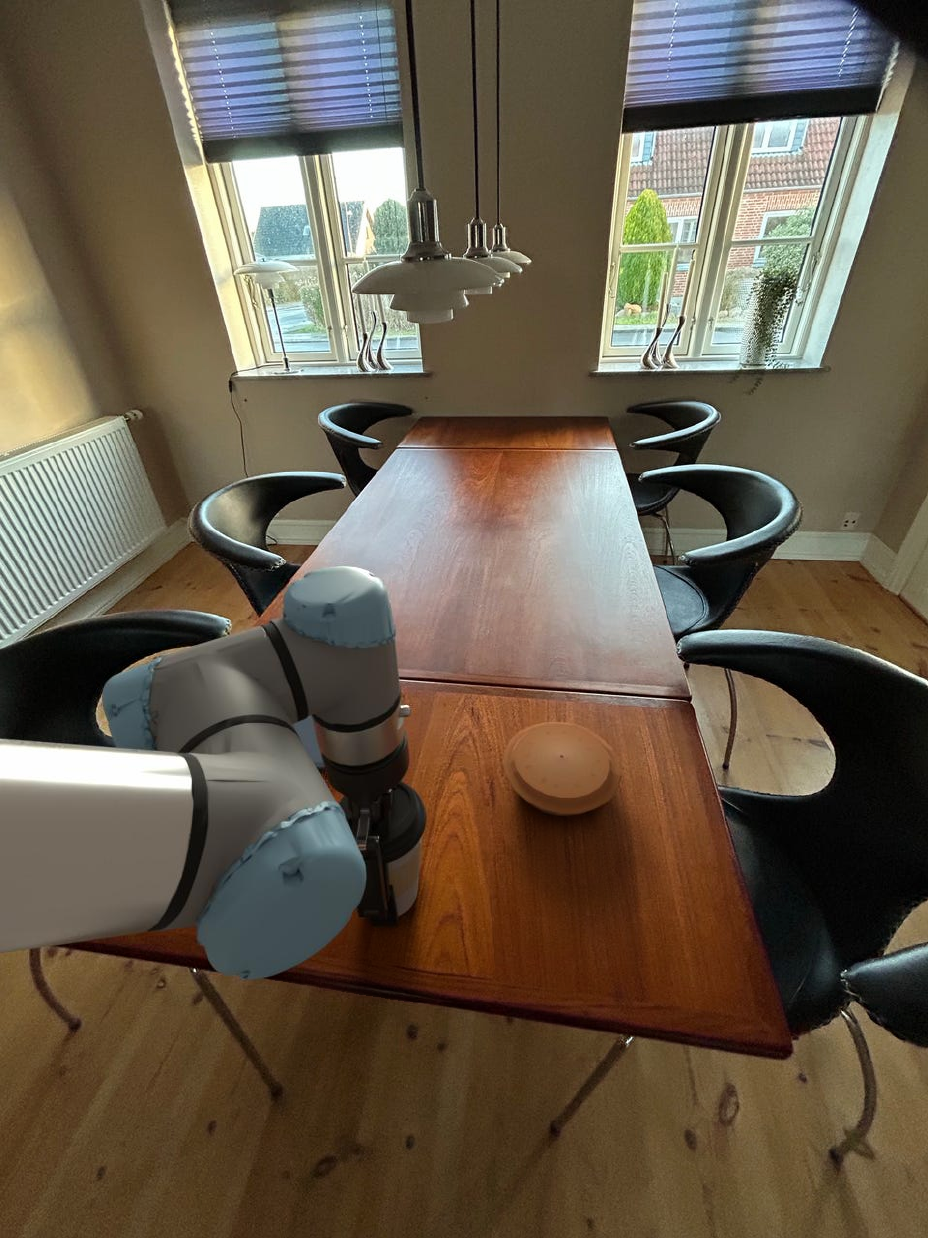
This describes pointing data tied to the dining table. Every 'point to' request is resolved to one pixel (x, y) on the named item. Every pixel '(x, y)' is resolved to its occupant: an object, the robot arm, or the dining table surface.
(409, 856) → the coffee cup
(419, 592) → the dining table surface
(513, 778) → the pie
